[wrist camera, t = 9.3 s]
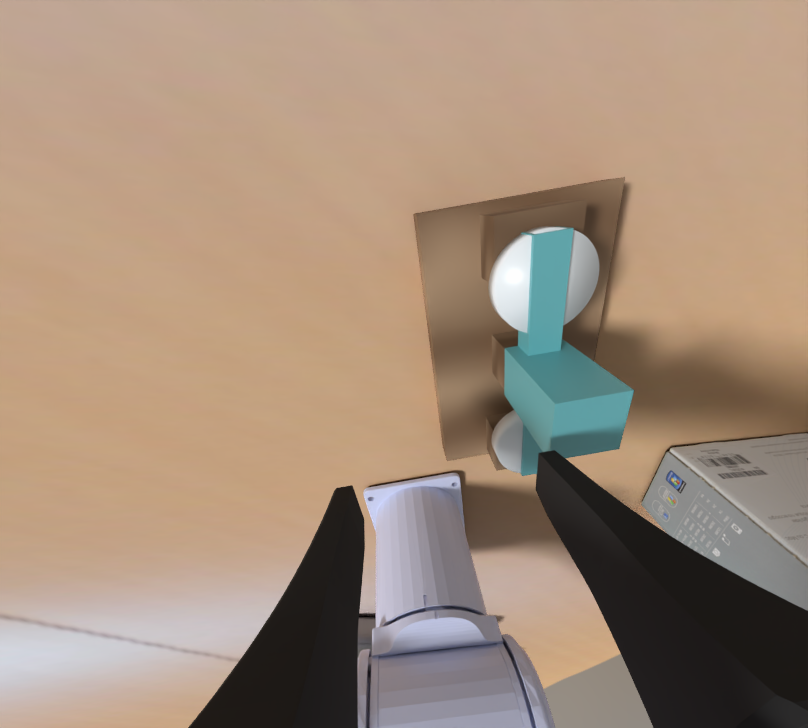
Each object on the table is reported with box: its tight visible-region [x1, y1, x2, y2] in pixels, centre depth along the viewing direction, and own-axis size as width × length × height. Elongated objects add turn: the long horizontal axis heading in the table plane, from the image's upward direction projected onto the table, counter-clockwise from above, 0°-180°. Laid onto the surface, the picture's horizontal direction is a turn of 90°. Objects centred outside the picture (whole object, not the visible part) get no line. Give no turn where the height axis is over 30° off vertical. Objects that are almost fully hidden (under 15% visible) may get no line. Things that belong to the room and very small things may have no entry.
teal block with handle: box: [488, 226, 634, 476], centre depth 14 cm, size 14×5×5 cm, turn 9°
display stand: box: [414, 177, 625, 470], centre depth 18 cm, size 16×10×4 cm, turn 9°
